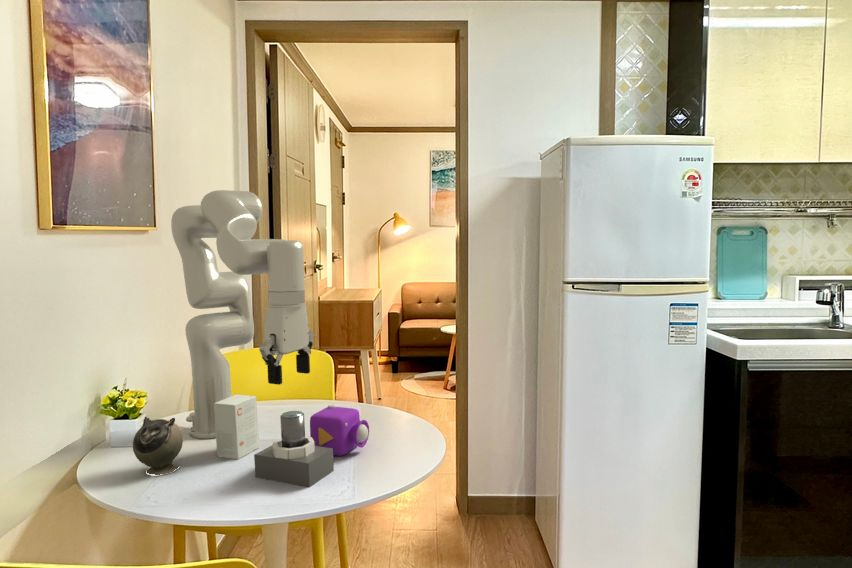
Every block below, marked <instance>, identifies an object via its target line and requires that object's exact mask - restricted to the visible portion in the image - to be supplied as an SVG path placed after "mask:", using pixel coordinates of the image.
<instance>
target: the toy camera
mask: <svg viewBox="0 0 852 568" xmlns="http://www.w3.org/2000/svg"><path fill="white" fill-rule="evenodd" d="M360 416H361V414H360V412H359V410H358V409H356V408H351V407H342V406H336V404H328V405H327V406H326V407H325V408H322V410H319V411H316V412H315V413H314V414H312V415H311V416H310V418H309V434H310V436H309V437H312V438H313V440H314V442H315V446H320V447H327V448H333V456H339V457H342V456H344V455H347V454H348V453H349V452H352V451H353V450H355V448H357V447H358V448H361V449H362V448H363V447H365V446H366V444H367V442H368V440H369V436H370V426H369V422H368V421H367V420H366V419H361V417H360Z"/></svg>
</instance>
